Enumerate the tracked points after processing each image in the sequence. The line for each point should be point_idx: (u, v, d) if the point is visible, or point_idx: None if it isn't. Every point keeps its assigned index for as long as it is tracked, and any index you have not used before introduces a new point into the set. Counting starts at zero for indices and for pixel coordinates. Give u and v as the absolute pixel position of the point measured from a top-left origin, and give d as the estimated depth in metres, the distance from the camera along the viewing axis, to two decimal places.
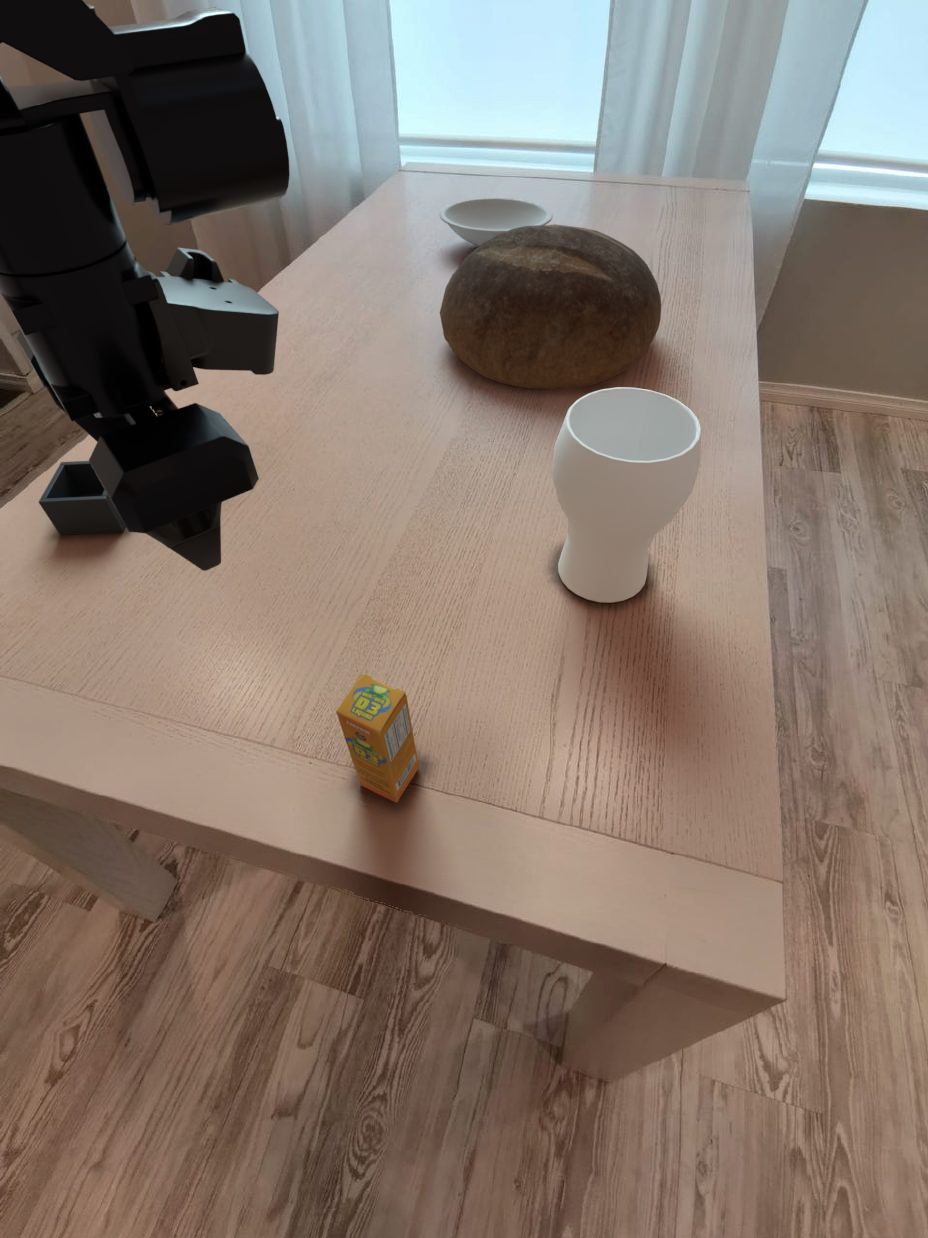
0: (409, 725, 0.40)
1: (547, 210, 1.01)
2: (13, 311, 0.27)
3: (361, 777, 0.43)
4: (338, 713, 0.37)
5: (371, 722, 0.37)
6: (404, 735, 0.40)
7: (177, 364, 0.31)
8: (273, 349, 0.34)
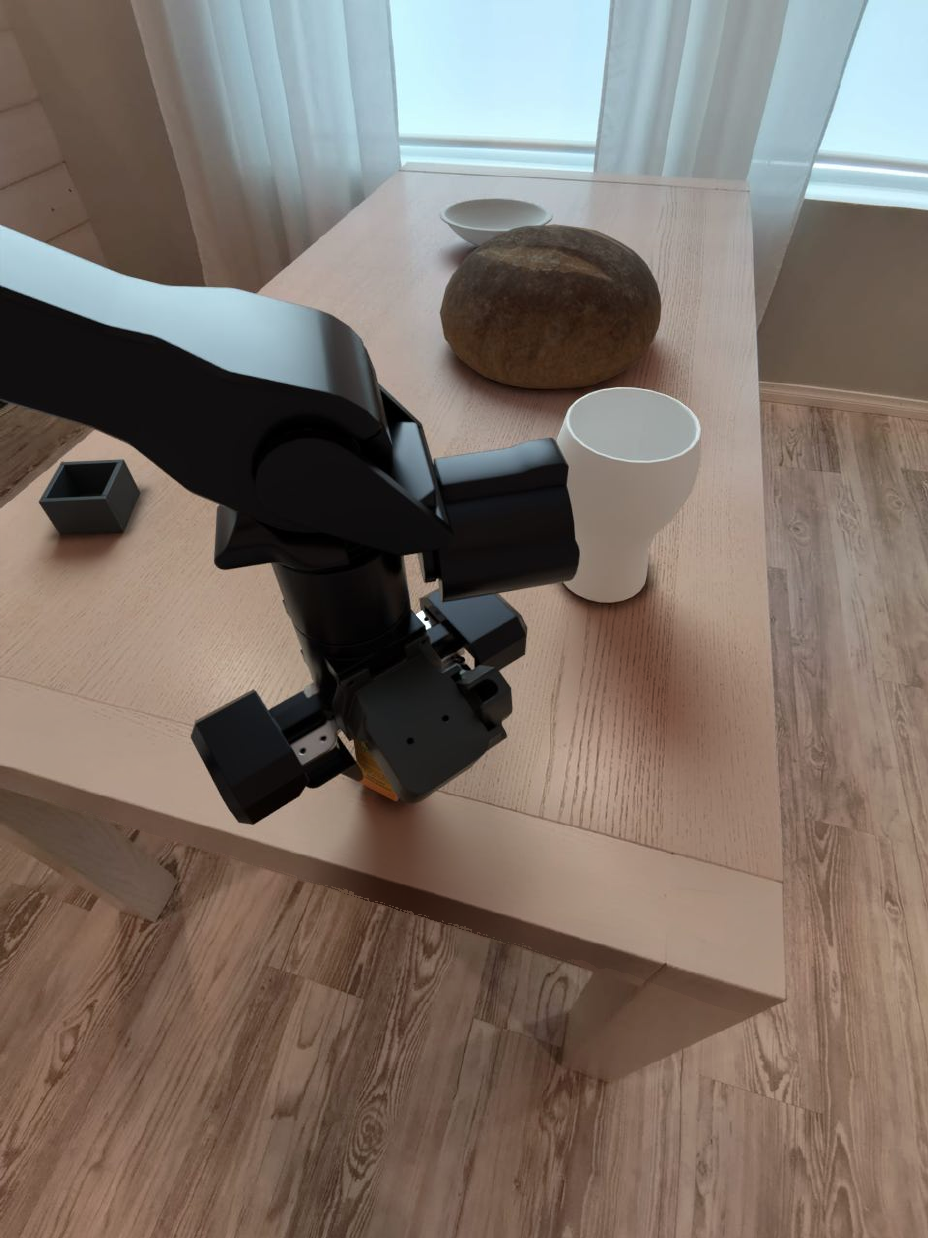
0: None
1: (547, 210, 1.01)
2: (283, 600, 0.32)
3: None
4: None
5: None
6: None
7: (339, 720, 0.32)
8: (408, 798, 0.31)
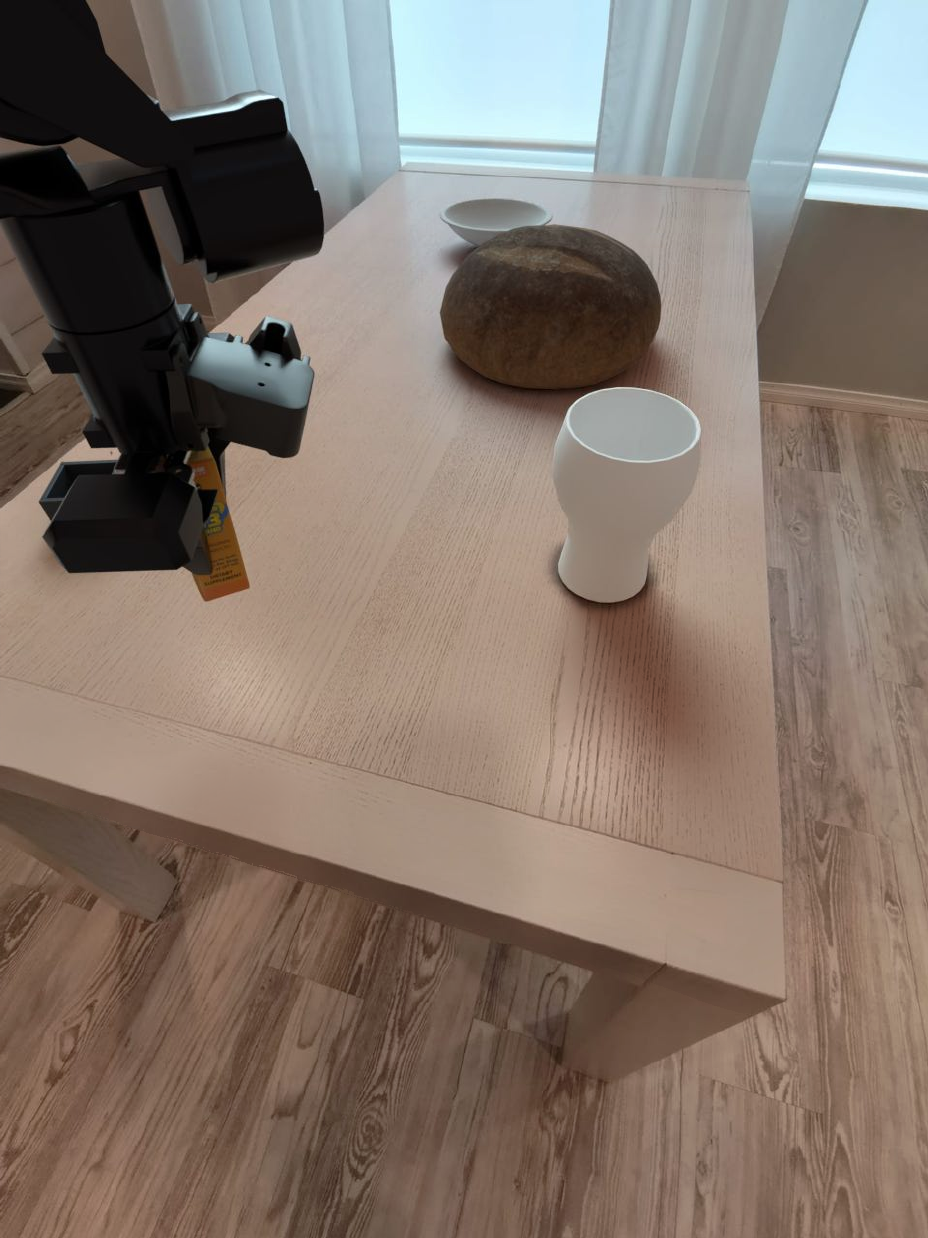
0: None
1: (547, 210, 1.01)
2: (43, 353, 0.30)
3: (205, 582, 0.42)
4: None
5: (199, 457, 0.37)
6: None
7: (184, 429, 0.32)
8: (293, 438, 0.34)
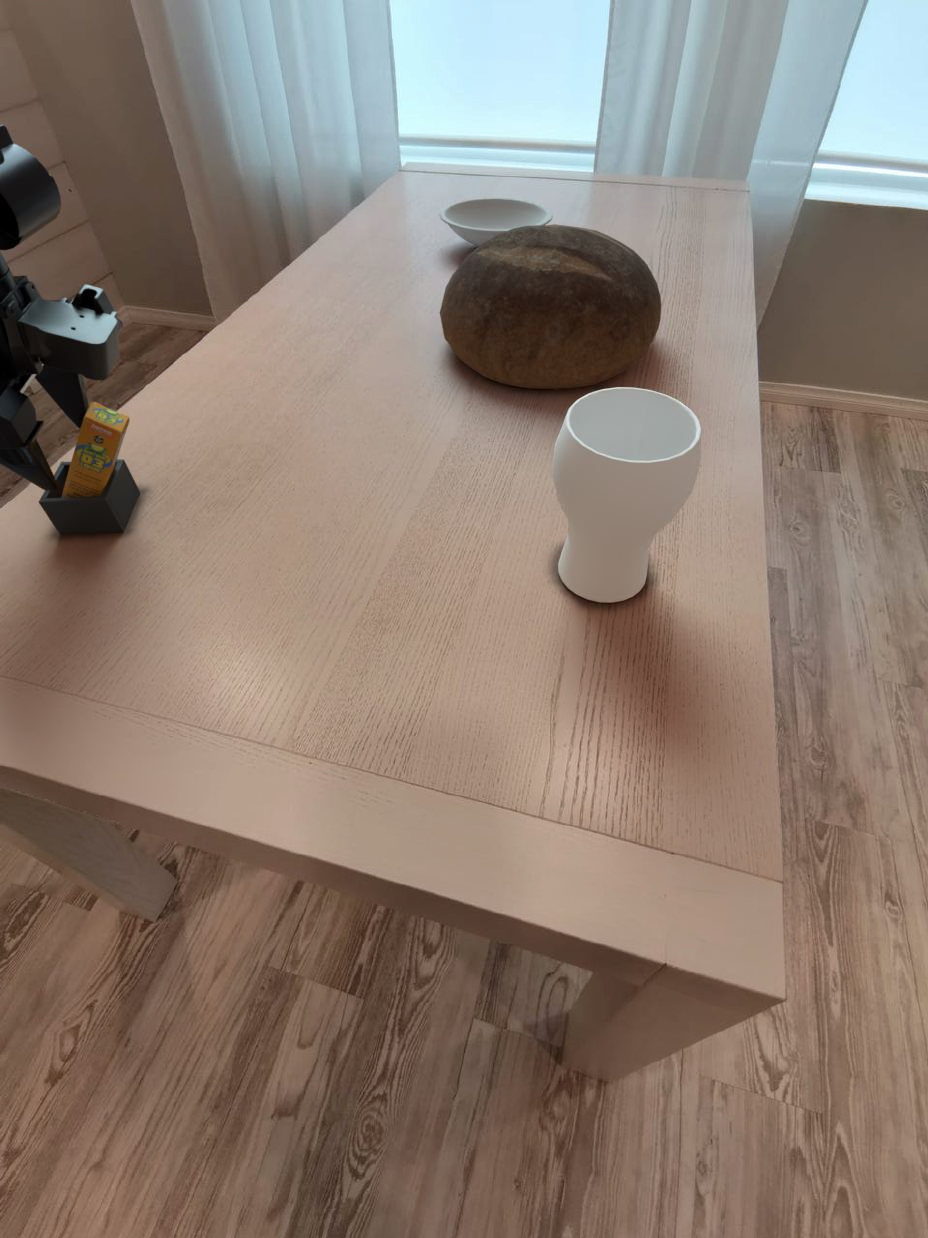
0: None
1: (547, 210, 1.01)
2: None
3: (68, 493, 0.60)
4: (86, 417, 0.56)
5: (113, 426, 0.57)
6: (117, 454, 0.60)
7: (21, 359, 0.49)
8: (99, 365, 0.50)
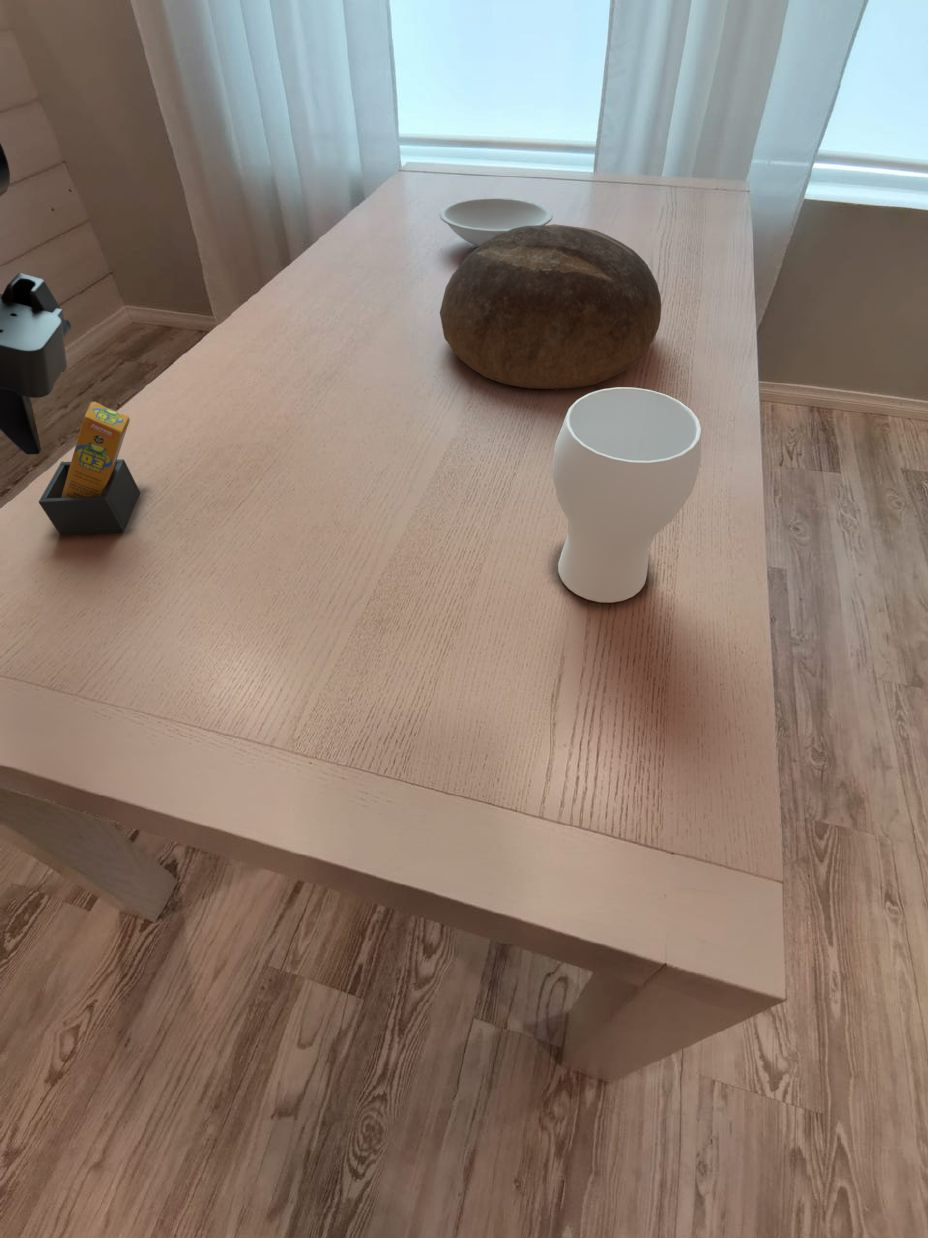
0: None
1: (547, 210, 1.01)
2: None
3: (68, 493, 0.60)
4: (86, 417, 0.56)
5: (113, 426, 0.57)
6: (117, 454, 0.60)
7: None
8: (35, 379, 0.38)
